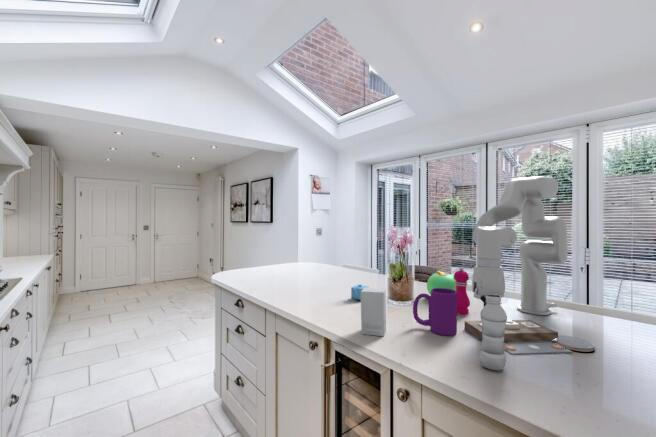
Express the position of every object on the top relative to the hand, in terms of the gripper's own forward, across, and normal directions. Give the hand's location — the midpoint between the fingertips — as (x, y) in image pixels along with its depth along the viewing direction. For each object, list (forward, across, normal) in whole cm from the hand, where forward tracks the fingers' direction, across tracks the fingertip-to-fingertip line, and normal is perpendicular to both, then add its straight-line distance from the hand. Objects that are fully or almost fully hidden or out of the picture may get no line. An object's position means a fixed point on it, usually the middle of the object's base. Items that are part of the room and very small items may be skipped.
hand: (488, 313), depth 111 cm
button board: (+8, -7, +1) cm, 10 cm away
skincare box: (+7, +41, -4) cm, 42 cm away
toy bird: (+9, -5, -45) cm, 47 cm away
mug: (+7, +18, -5) cm, 20 cm away
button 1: (+7, +1, +1) cm, 7 cm away
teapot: (+8, +38, -48) cm, 62 cm away
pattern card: (+7, -7, +13) cm, 16 cm away
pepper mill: (+8, -3, -25) cm, 27 cm away
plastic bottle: (+7, +14, +24) cm, 28 cm away
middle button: (+6, -7, +1) cm, 9 cm away
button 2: (+7, -15, +1) cm, 17 cm away
